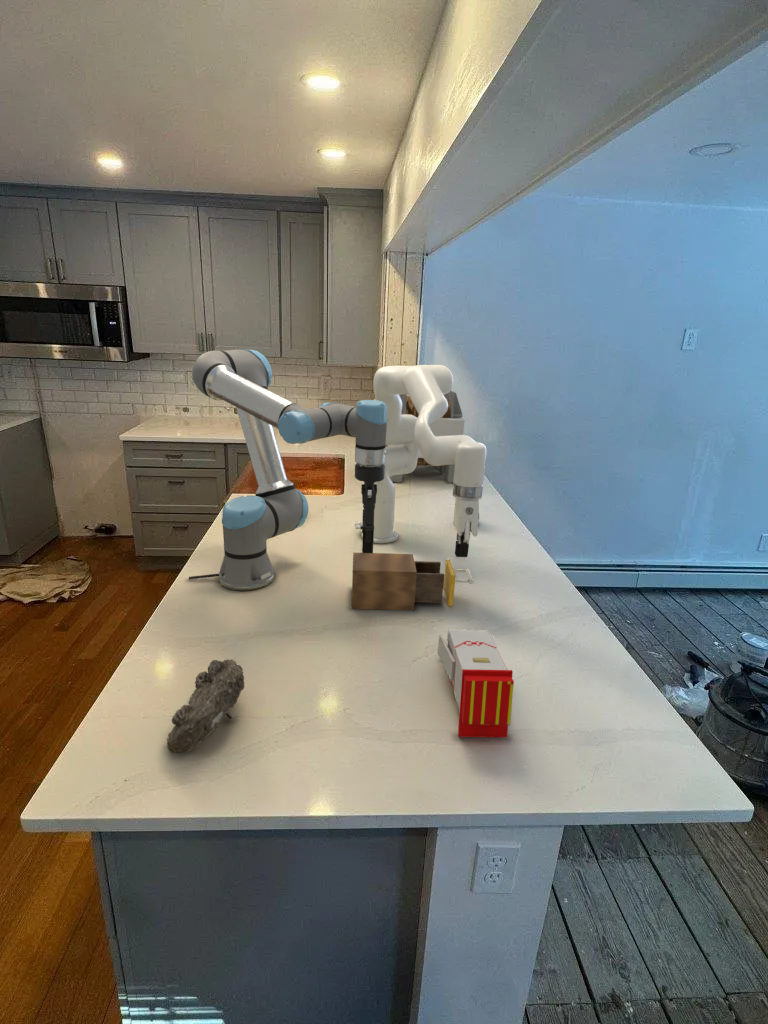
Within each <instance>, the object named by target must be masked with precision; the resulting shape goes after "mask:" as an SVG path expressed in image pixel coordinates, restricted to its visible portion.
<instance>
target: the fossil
mask: <svg viewBox="0 0 768 1024" xmlns="http://www.w3.org/2000/svg"><path fill="white" fill-rule="evenodd" d="M243 670H244V669H243V667H242V665H240V664H237V662H236V661H235V660H234V659H232V658H231V659H227V658H226V659H224V660H223V661H222V660H217V659H212V660H211V661H210V663H209V665H208V666H207V671H201V672H199V673H198V674H197V675H196V676H195V680H194V684H195V685H194V687H195V689H194V690H193V693H192V694H191V697H190V698H189V700H188V704H184V705H182V706H181V707H180V709H177V710H176V711H175V713H174V715H173V716H172V718H171V723H172V724H173V727H172V730H171V731H170V732H168V734H167V738H166V741H167V742H166V745H167V749H168V750H169V751H173V752H174V753H176V754H178V753H182V752H188V751H189V752H192V751H193V750H195V748H196V747H197V746H199V744H200V743H201V742H203V741H204V740H205V739H206V738H207V737H208V736H209V735H210V734H211V733H212V732H214V730H215V729H217V727H218V726H219V724H220V722H221V721H222V720H223V719H224V718H225V716H226V717H227V719H229V720H233V717H232V715H230V714H229V710H230V709H231V708H234V706H235V704H236V703H237V702H238V699H239V697H240V695H241V693H242V691H243V690H245V689H244V688H245V675H244V671H243Z"/></svg>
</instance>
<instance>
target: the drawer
mask: <svg viewBox="0 0 768 1024" xmlns="http://www.w3.org/2000/svg"><path fill="white" fill-rule="evenodd" d="M414 562H415V566H416V571H417V574H416V588H415V602H414V603H433V604H434V603H436V604H437V603H439V604H442V603H443V595H445V599H446V604H447V606H448V607H453V606H454V596H455V587H456V584H457V583H461V584H469V585H473V584H474V583H475V581H474V578H473V576H472V573H471V572H470V569H469V567H466V568H464V569H461V568H459V569H458V568H454V567H453V564H452V561H451V559H450V558H449V559H448V558H445V565H444V573H441V565H442V563H441V561H430V560H429V561H428V560H426V561H425V560H418V561H417V560H414ZM456 573H465V576H466V579H456Z"/></svg>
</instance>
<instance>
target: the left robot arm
mask: <svg viewBox="0 0 768 1024" xmlns="http://www.w3.org/2000/svg"><path fill="white" fill-rule="evenodd" d="M191 371H192V373H191V375H192V376H191V377H192V381H193V384H194V386H195V387H196V388H197V389H198V390H199V391H200V392H201V394H203V395H205V396H206V397H208V398H210V399H212V400H215V401H224V402H226V403H228V404H230V405H232V406H233V407H235V408H236V412H237V415H238V419H239V423H240V426H241V430H242V433H243V437H244V441H245V444H246V447H247V450H248V454H249V458H250V461H251V465H252V468H253V469H252V470H253V473H254V476H255V479H256V483H257V489H256V491H255V492H254V494H255V495H246V496H244V495H242V496H238V497H234V498H232V499H230V500H229V501H227V502H226V503H225V504H224V505H223V507H222V512H221V513H222V514H221V516H222V517H221V524H222V537H223V553H224V555H223V559H222V562H221V565H220V569H219V572H218V573H210V574H202V575H201V574H200V575H193V576H188V580H198V579H206V578H215V577H216V578H217V577H218V581H219V584H220V585H221V586H222V587H224V588H226V589H229V590H233V591H239V592H240V591H243V592H244V591H254V590H258V589H259V590H260V589H263V588H264V587H267V586H268V585H270V584H271V583H272V582H273V581H274V579H275V570H274V568H273V565H272V563H271V560H270V556H269V554H268V551H267V540H269V539H272V538H275V537H278V536H280V535H283V534H286V533H288V532H294V531H295V530H296V529H298V528H300V527H302V526H303V525H304V524H305V523H306V520H307V518H308V516H309V503H308V500H307V497H306V495H305V494H303V492H302V491H301V490H299V489H297V488H296V486H295V483H294V482H292V481H291V480H289V479H288V477H287V474H286V470H285V466H284V463H283V459H282V456H281V451H280V449H279V445H278V441H277V437H276V434H275V430H274V428H275V429H277V430H278V433H279V436H280V437H281V438H282V439H283V441H284V442H286V443H287V444H290V445H296V444H299V445H300V444H306V443H308V442H312V441H317V440H320V439H321V440H322V439H327V438H331V437H335V436H346V437H351V438H355V446H354V462H355V464H354V478H355V479H356V480H357V481H359V482H363V483H361V488H360V489H361V491H360V492H361V503H362V519H361V520H362V521H361V522H362V526H361V529H359V530H361V533H363V538H362V541H361V542H362V544H361V553H374V543H373V538H374V509H375V504H376V494H377V485H374V483H375V482H379V481H382V480H383V479H384V477H385V466H384V463H385V455H387V454H388V451H385V447H386V430H387V422H388V419H387V405H386V404H385V403H384V402H382V401H377V400H374V399H361V400H358V401H357V403H356V406H353V405H348V404H343V403H339V402H329V401H327V402H323V403H322V404H321V405H320V406H318V407H312V408H307V407H304V406H302V405H300V404H297V403H296V402H294V401H292V400H290V399H288V398H285V397H284V396H282V395H279V394H277V393H275V392H273V391H272V390H269V386H270V385H271V383H272V377H273V371H272V367H271V364H270V362H269V360H268V359H267V358H266V356H265V355H264V354H262V353H260V352H259V351H258V350H256V349H248V348H247V349H246V348H240V349H228V350H227V349H226V350H210V351H206V352H204V353H203V354H201V355H200V356H198V357H197V358H196V360H195V362H194V364H193V365H192V370H191Z"/></svg>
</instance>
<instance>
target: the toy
mask: <svg viewBox="0 0 768 1024" xmlns="http://www.w3.org/2000/svg"><path fill="white" fill-rule="evenodd" d="M446 640H447V643H446V641H445V639H444V636H443V635H442V634H439V637H438V646H437V656H438V657H439V659H440V661H441V663H442V666H443V668H444V670H445V672H446V674H447V677H448V679H449V681H450V684H451V687H452V690H453V693H454V697H455V701H456V705H457V708H458V711H459V714H458V715H459V716H458V730H457V731H458V732H457V737H458V738H508V731H509V726H510V725H511V717H512V707H513V697H514V696H513V695H514V684H515V680H514V679H513V673H514V671H513V670H512V669H508V667H507V665H506V662H505V661H504V659H503V658H502V655H501V653H500V651H499V649H498V647H497V643H496V639H495V637H494V635H493V634H491V632H490V631H489V629H467V628H466V629H465V628H463V629H461V628H460V629H459V628H448V630H447V639H446Z"/></svg>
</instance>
